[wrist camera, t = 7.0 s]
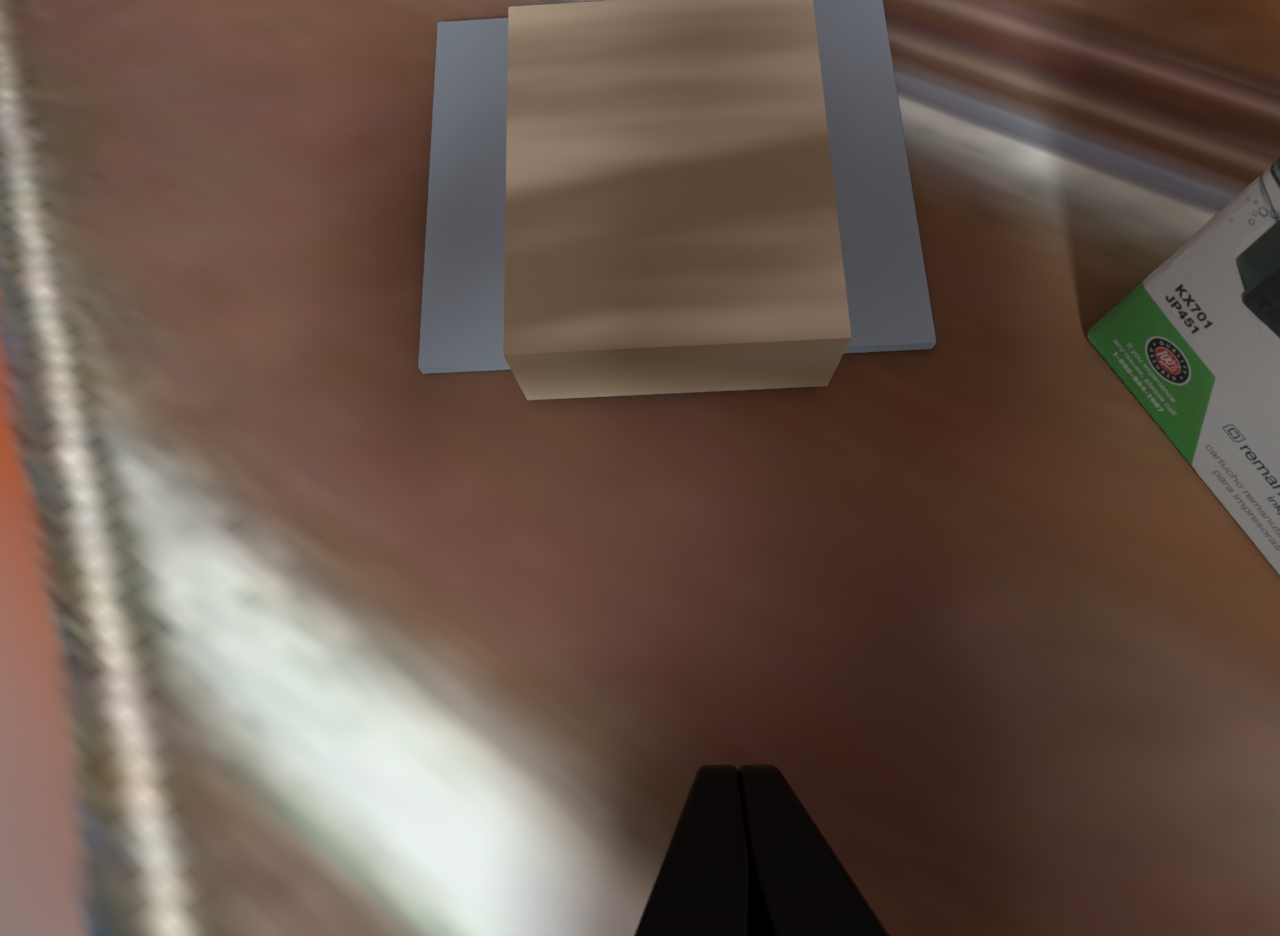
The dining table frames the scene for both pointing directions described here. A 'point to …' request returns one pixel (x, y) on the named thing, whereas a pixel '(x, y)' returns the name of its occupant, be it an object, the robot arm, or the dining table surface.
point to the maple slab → (669, 200)
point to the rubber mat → (476, 191)
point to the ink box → (1214, 355)
